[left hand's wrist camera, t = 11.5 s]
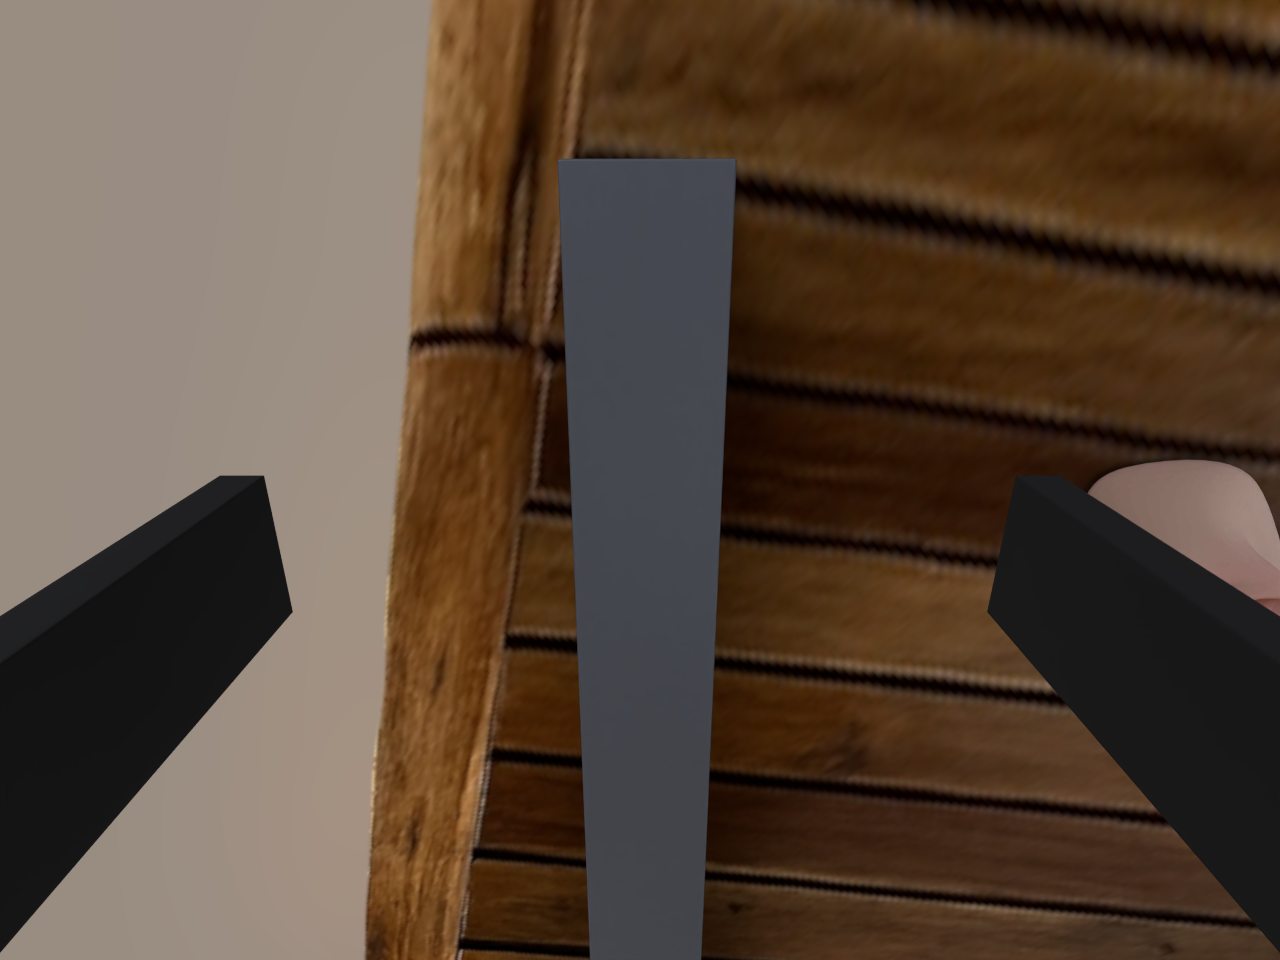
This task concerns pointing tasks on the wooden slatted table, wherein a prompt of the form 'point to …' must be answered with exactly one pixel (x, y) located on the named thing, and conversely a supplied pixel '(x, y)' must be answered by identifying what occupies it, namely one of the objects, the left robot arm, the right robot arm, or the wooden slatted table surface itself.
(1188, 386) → the wooden slatted table surface
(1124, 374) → the wooden slatted table surface
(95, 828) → the left robot arm
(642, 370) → the bar
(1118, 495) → the anatomical model
